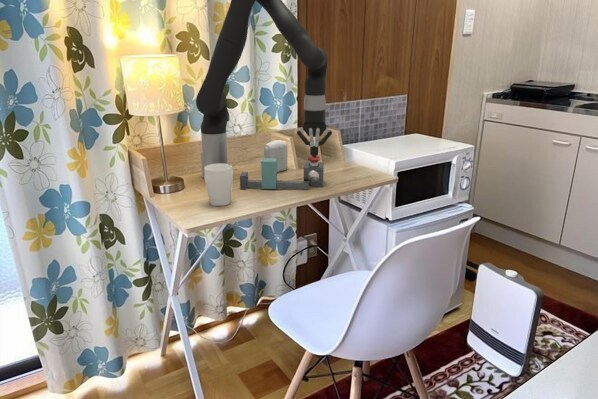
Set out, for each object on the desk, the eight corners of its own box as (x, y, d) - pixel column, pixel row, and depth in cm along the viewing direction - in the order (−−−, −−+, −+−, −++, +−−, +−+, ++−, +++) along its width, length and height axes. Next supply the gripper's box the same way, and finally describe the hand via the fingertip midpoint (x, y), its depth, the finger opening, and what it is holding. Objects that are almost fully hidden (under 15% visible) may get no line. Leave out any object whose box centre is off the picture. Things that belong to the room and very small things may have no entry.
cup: (209, 209, 144) (207, 172, 140) (203, 200, 152) (200, 165, 148) (237, 205, 148) (236, 169, 144) (230, 196, 156) (228, 162, 151)
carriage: (261, 188, 162) (261, 161, 159) (263, 184, 166) (262, 158, 163) (275, 189, 162) (275, 161, 158) (277, 185, 166) (276, 158, 162)
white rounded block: (282, 167, 189) (281, 137, 184) (289, 169, 186) (289, 139, 181) (262, 172, 182) (261, 141, 178) (269, 174, 179) (269, 143, 175)
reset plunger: (307, 177, 166) (307, 157, 164) (308, 173, 170) (308, 154, 168) (319, 177, 166) (319, 158, 163) (319, 174, 170) (320, 155, 168)
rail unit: (240, 189, 162) (239, 170, 160) (246, 178, 175) (246, 160, 172) (322, 191, 161) (323, 172, 158) (323, 180, 173) (323, 162, 170)
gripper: (333, 106, 163) (332, 154, 169) (296, 106, 164) (296, 153, 170) (333, 109, 156) (332, 159, 162) (294, 109, 157) (295, 158, 163)
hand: (314, 156), depth 166 cm, fingers closed
